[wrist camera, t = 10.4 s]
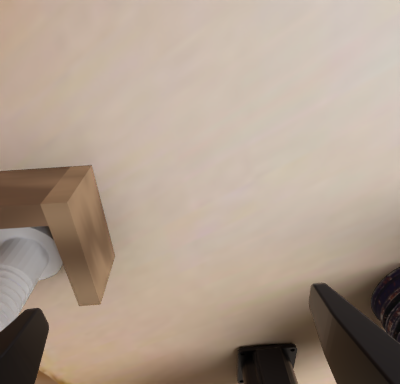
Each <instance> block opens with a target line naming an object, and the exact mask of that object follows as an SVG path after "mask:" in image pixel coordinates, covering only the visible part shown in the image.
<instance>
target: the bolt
mask: <svg viewBox="0 0 400 384" xmlns="http://www.w3.org/2000/svg"><path fill="white" fill-rule="evenodd" d="M62 265H63V262H62V260H61V257H60V255H59V252H58V249H57V247H56V244H55V242H54V239H53V236H52V234H51V231H50V228H49V226H39V227H25V228H10V229H0V332H1V331H2V330H3V329H4V328H5V327H6V326H8V325H9V324H10V323H11V322H12V321H13V320H14V319H16V318H17V317H18V314H19V312H21V310H22V307H23V306H24V305H25V302H26V300H27V299H28V297H29V295H30V294H31V292H32V291H33V289H34V287H35V285H36V284H37V282H38V280H42V279H47V278H49V277H52V276H53V275H55V274H56V273H57V272H58V271H59V270H60V269H61V267H62Z"/></svg>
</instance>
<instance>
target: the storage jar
mask: <svg viewBox="0 0 400 384" xmlns="http://www.w3.org/2000/svg"><path fill="white" fill-rule="evenodd" d="M371 307H372V310H373V312H374V314H375V315H376V317H377V318H378V319H379V320H380V321H381V323H382V325H383V327H384V329H385V330H386V333H387V334H389V335H390V336H391V337H392V338H394V339H395V340H396V341H397V342H399V343H400V267H399V268H397V269H396V270H394V271H393V272H391V273H390V274H389V275H387V276H386V277H385V278H384V279H383V280H382V281H381V282H380V283H379V284H378V286H377V287H376V289H375V291H374V292H373V295H372V298H371Z"/></svg>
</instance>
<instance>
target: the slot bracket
mask: <svg viewBox="0 0 400 384" xmlns="http://www.w3.org/2000/svg"><path fill="white" fill-rule="evenodd" d="M39 226H49V228H50V231H51V234H52V236H53V239H54V242H55V244H56V247H57V249H58V252H59V255H60V257H61V260H62V262H63V265H64V268H65V270H66V273H67V276H68V278H69V281H70V283H71V286H72V289H73V291H74V294H75V296H76V299H77V302H78V304H79V306H86V305H99V304H101V301H102V298H103V294H104V291H105V288H106V284H107V281H108V278H109V274H110V271H111V268H112V264H113V261H114V257H115V254H114V250H113V246H112V242H111V238H110V235H109V231H108V227H107V223H106V219H105V215H104V211H103V207H102V204H101V200H100V196H99V192H98V188H97V184H96V180H95V176H94V173H93V169H92V165H90V166H74V167H59V168H44V169H28V170H13V171H0V229H10V228H25V227H39Z"/></svg>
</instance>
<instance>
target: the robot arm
mask: <svg viewBox="0 0 400 384" xmlns="http://www.w3.org/2000/svg"><path fill="white" fill-rule="evenodd" d="M309 307H310V310H311V313H312V317H313V320H314V323H315V326H316V329H317V333H318V336H319V339H320V342H321V345H322V348H323V351H324V354H325V357H326V359H327V362H328V364H329V367H330V369H331V371H332V374H333V376H334V378H335V380H336V383H337V384H400V343H399V342H397V341H396V340H395V339H394V338H392V337H391V336H390V335H389V334H387V333H386V332H385V331H384V330H383V329H381V328H380V327H379V326H378V325H376V324H375V323H374V322H373V321H371V320H370V319H369V318H368V317H366V316H365V315H364V314H363V313H361V312H360V311H359V310H358V309H357V308H355V307H354V306H353V305H352V304H350V303H349V302H348V301H347V300H345V299H344V298H343V297H342V296H340V295H339V294H338V293H337V292H336V291H334V290H333V289H332V288H331V287H329V286H328V285H327V284H325V283H315V284H312V285H311V290H310V296H309ZM48 331H49V325H48V322H47V320H46V318H45V316H44V314H43V312H42V310H41V309H39V308H33V309H27V310H25V311H24V312H22V313H21V314H20V315H19V316H18V317H17V318H16V319H14V320H13V321H12V322H11V323H10V324H9V325H8V326H6V327H5V328H4V329H3V330H2V331H1V332H0V384H34V383H35V380H36V377H37V374H38V370H39V366H40V362H41V358H42V355H43V351H44V347H45V343H46V339H47V335H48ZM296 353H297V348H296V345H295V344H285V345H272V346H259V347H246V348H240V349H238V360H237V381H238V383H244V384H298V382H297V379H296V376H295V373H294V370H293V368H294V363H295V358H296Z"/></svg>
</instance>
